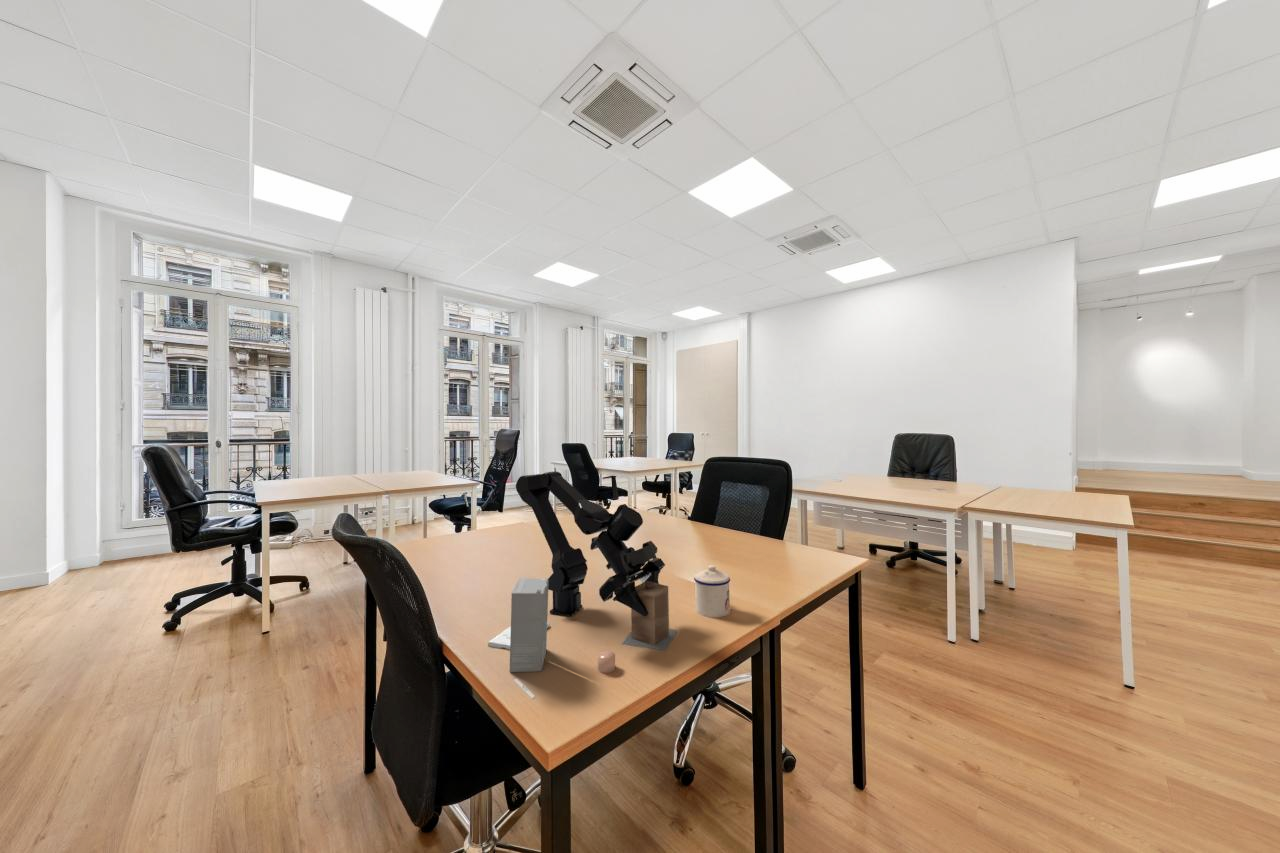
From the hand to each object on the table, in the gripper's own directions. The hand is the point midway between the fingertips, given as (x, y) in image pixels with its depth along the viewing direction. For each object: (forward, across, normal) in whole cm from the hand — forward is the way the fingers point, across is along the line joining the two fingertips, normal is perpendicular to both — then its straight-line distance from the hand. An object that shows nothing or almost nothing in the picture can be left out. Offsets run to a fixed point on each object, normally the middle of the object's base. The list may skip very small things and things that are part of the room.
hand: (655, 610), depth 96 cm
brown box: (+3, 0, +5) cm, 6 cm away
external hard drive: (-14, -16, +24) cm, 32 cm away
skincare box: (-6, -22, +16) cm, 28 cm away
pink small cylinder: (+4, -16, +5) cm, 17 cm away
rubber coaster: (+4, 0, +6) cm, 7 cm away
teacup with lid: (+6, +22, +3) cm, 23 cm away
